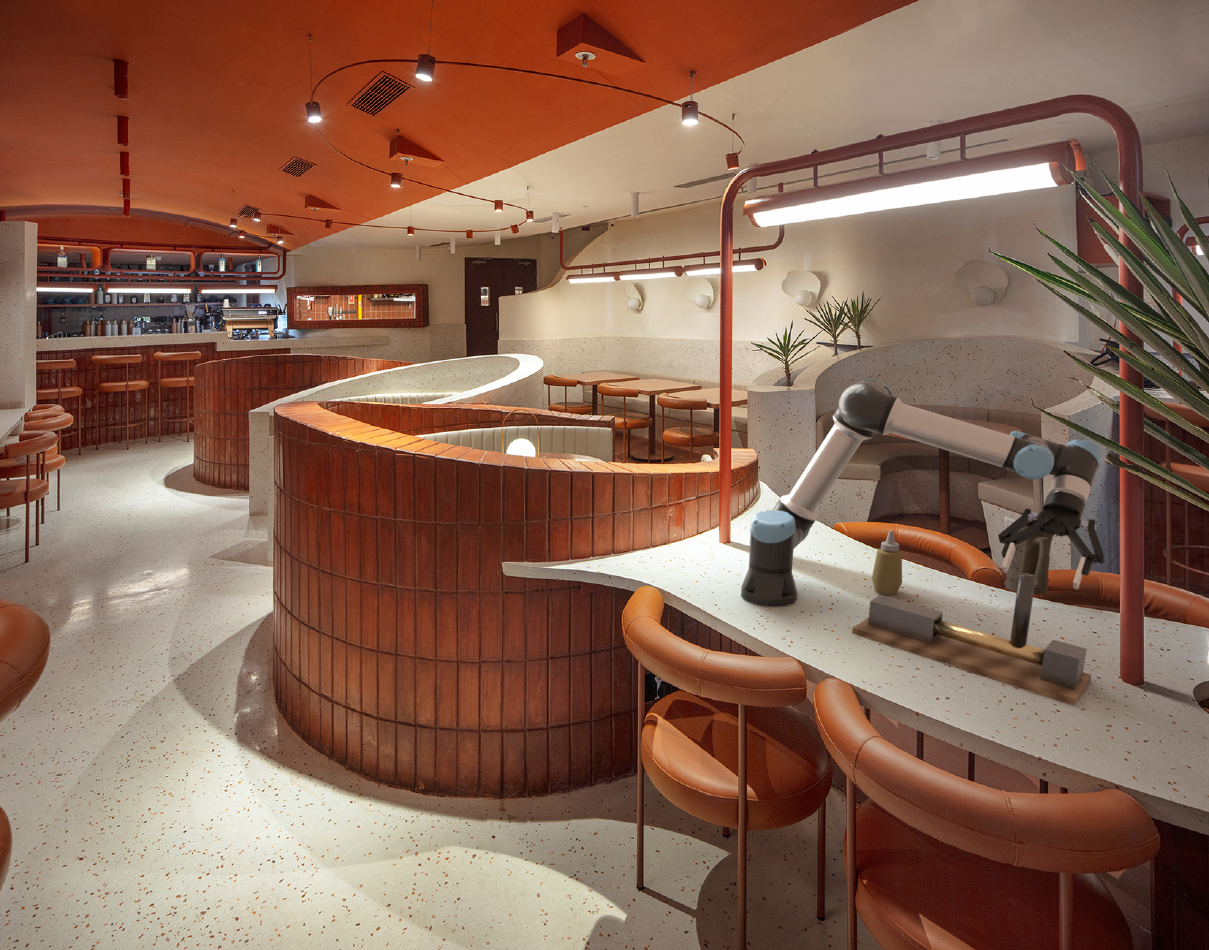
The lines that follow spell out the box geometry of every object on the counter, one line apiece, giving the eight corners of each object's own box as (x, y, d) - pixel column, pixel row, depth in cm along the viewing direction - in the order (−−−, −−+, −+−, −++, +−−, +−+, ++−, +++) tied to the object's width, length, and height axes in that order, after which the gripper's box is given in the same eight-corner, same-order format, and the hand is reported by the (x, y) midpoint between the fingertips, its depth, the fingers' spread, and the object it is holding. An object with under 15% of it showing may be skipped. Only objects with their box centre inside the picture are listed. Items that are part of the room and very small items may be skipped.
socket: (1040, 679, 140) (1044, 649, 139) (1048, 668, 145) (1052, 639, 143) (1074, 690, 136) (1079, 659, 135) (1081, 678, 141) (1086, 648, 139)
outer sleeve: (868, 624, 166) (870, 600, 165) (878, 618, 170) (880, 594, 169) (931, 644, 156) (934, 619, 155) (940, 637, 160) (943, 612, 159)
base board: (852, 633, 165) (852, 627, 165) (876, 616, 175) (877, 611, 175) (1074, 705, 133) (1076, 698, 133) (1090, 680, 143) (1091, 674, 142)
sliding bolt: (927, 633, 157) (935, 557, 154) (932, 629, 160) (941, 554, 156) (1063, 674, 139) (1076, 589, 135) (1067, 669, 141) (1080, 584, 137)
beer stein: (996, 579, 202) (1007, 516, 196) (1034, 581, 201) (1045, 517, 195) (1022, 603, 187) (1034, 535, 182) (1063, 604, 186) (1076, 536, 181)
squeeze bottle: (904, 598, 187) (910, 536, 184) (873, 595, 189) (878, 534, 185) (897, 587, 195) (903, 527, 192) (868, 585, 197) (873, 526, 193)
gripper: (1133, 519, 149) (1108, 601, 141) (1007, 499, 166) (979, 571, 159) (1133, 500, 144) (1107, 584, 137) (1003, 481, 161) (974, 555, 154)
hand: (1038, 577), depth 148 cm, fingers open, 13 cm apart
